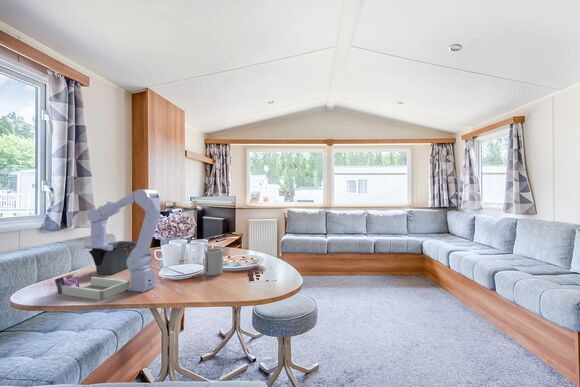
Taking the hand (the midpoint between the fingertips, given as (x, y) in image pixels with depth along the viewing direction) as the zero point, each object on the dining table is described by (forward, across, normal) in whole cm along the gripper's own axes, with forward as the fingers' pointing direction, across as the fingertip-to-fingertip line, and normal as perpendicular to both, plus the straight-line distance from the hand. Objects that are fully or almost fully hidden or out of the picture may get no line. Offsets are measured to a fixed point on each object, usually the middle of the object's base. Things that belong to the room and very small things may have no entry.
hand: (98, 265), depth 135 cm
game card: (+10, +8, +9) cm, 15 cm away
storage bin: (+10, +14, -23) cm, 29 cm away
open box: (+9, -6, +6) cm, 13 cm away
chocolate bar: (+10, -62, -41) cm, 75 cm away
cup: (+10, -38, -35) cm, 53 cm away
